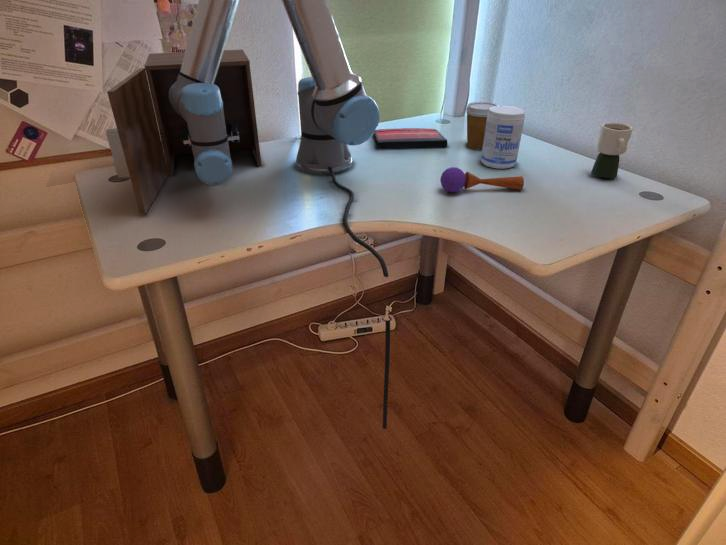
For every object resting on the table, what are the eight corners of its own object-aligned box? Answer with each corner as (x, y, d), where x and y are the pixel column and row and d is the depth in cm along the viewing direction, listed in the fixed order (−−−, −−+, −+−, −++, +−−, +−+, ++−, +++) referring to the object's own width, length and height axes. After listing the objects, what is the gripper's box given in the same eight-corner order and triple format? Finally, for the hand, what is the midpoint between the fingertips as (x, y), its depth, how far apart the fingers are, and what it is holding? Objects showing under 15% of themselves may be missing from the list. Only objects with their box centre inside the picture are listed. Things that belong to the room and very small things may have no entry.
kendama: (528, 179, 116) (445, 175, 114) (520, 200, 120) (440, 196, 118) (521, 166, 120) (441, 161, 118) (514, 186, 124) (436, 182, 122)
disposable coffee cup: (495, 143, 151) (501, 103, 145) (491, 152, 144) (497, 111, 137) (464, 140, 154) (468, 100, 147) (459, 149, 146) (463, 108, 140)
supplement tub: (493, 172, 131) (502, 116, 123) (473, 160, 138) (480, 107, 130) (523, 167, 134) (533, 112, 126) (502, 156, 141) (510, 103, 133)
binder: (447, 139, 146) (377, 141, 145) (447, 147, 148) (377, 149, 146) (436, 126, 160) (372, 128, 159) (435, 133, 161) (372, 135, 160)
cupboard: (274, 200, 115) (261, 79, 101) (127, 218, 108) (90, 89, 93) (254, 146, 149) (242, 49, 134) (141, 156, 141) (116, 55, 126)
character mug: (625, 184, 124) (641, 133, 117) (597, 184, 124) (611, 132, 117) (608, 168, 133) (622, 120, 126) (582, 168, 133) (594, 120, 126)
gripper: (170, 167, 114) (174, 137, 132) (256, 159, 118) (247, 131, 137) (163, 135, 109) (168, 109, 128) (252, 128, 114) (244, 104, 133)
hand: (209, 121), depth 132 cm, fingers closed on beverage can, 6 cm apart
